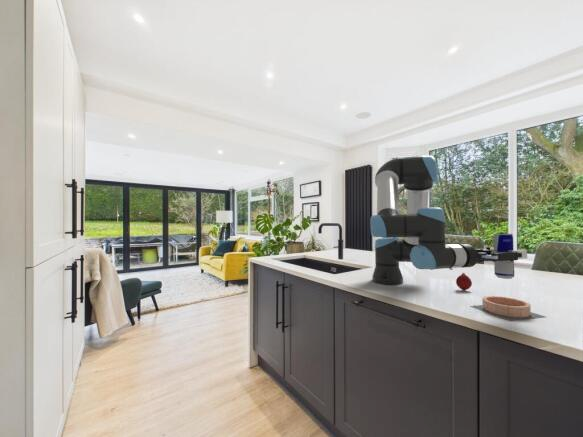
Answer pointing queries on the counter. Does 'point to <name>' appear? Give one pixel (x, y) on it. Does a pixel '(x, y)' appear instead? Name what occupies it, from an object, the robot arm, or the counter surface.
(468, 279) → the onion
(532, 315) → the mat
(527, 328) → the counter surface
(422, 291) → the counter surface
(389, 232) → the robot arm
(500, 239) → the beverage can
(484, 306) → the bowl
